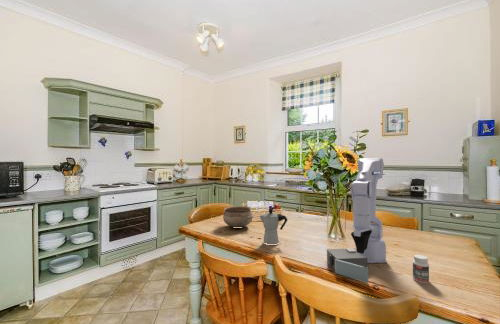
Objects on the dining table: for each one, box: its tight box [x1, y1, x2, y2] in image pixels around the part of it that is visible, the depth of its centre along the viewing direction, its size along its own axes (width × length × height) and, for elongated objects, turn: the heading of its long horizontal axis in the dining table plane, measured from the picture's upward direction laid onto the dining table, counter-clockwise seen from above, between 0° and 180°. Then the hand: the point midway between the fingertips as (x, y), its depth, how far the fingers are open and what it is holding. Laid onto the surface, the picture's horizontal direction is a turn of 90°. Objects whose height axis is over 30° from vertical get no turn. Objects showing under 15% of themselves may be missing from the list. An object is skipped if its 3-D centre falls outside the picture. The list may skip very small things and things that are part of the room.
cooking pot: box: [222, 205, 254, 228], centre depth 157 cm, size 25×19×12 cm
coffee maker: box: [258, 208, 288, 244], centre depth 126 cm, size 15×9×18 cm, turn 83°
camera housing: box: [326, 247, 368, 271], centre depth 98 cm, size 13×10×6 cm
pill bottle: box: [412, 254, 430, 284], centre depth 86 cm, size 5×5×8 cm
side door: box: [334, 259, 369, 283], centre depth 88 cm, size 12×1×5 cm, turn 48°
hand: (361, 251), depth 89 cm, fingers open, 4 cm apart
